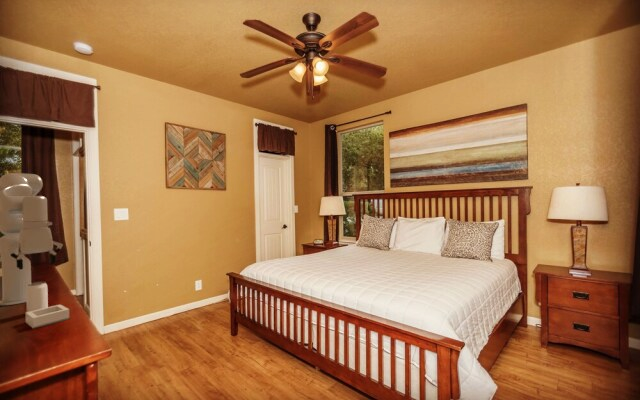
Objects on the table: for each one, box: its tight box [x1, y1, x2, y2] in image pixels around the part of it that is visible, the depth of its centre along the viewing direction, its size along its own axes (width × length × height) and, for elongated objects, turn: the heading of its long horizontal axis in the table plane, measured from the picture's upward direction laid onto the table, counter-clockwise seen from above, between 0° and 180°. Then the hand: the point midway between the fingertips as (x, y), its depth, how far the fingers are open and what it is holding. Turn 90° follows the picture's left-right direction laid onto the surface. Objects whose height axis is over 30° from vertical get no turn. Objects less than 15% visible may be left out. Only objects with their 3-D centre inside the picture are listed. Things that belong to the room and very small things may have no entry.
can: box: [25, 281, 49, 312], centre depth 126 cm, size 6×6×12 cm
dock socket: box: [25, 304, 70, 329], centre depth 116 cm, size 10×10×4 cm
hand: (36, 266), depth 126 cm, fingers open, 9 cm apart
